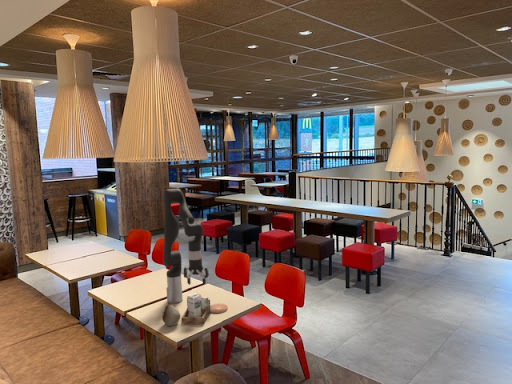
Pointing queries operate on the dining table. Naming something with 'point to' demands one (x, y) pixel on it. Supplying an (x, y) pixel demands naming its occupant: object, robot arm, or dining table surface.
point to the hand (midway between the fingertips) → (196, 284)
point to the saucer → (218, 308)
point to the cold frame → (198, 320)
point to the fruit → (170, 315)
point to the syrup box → (194, 305)
